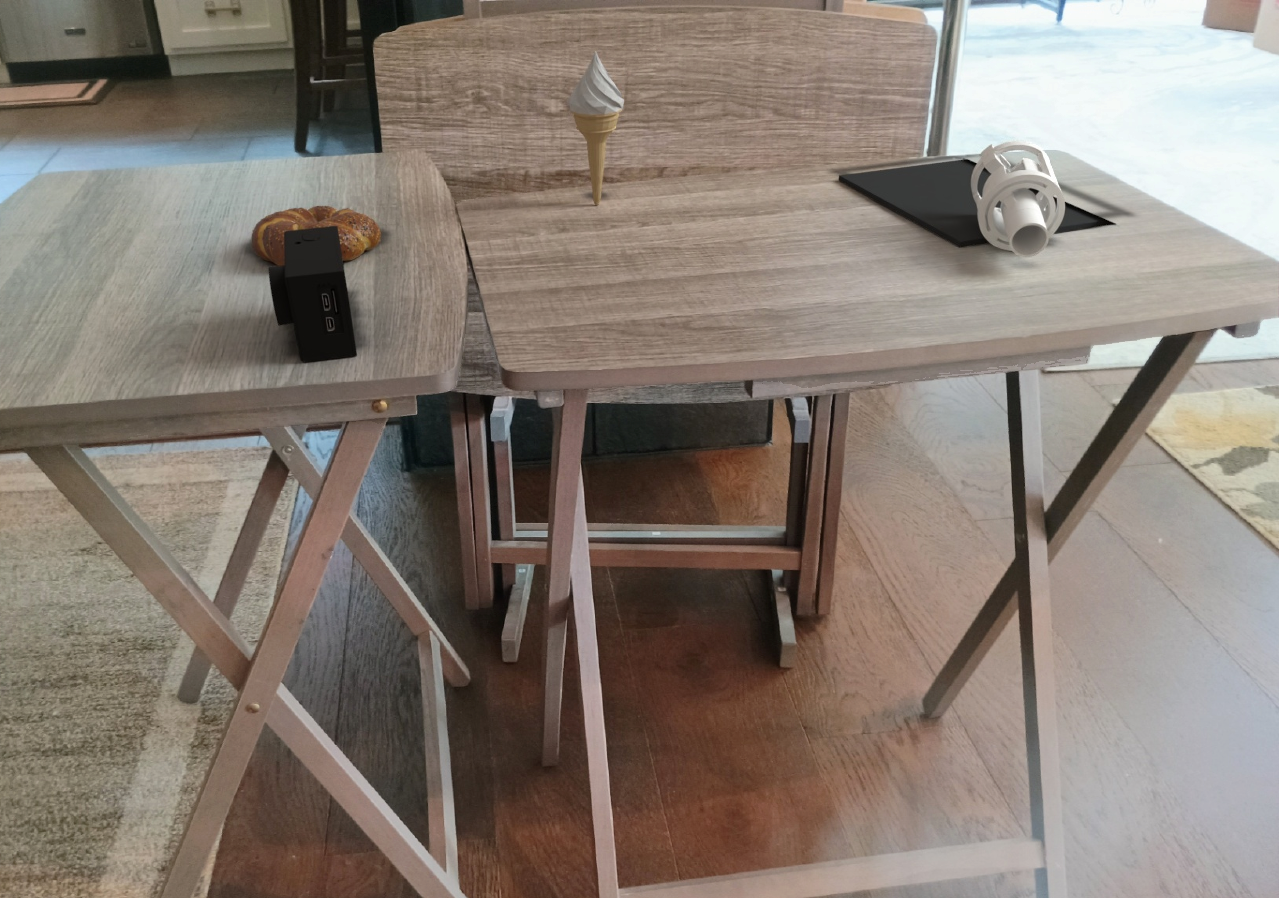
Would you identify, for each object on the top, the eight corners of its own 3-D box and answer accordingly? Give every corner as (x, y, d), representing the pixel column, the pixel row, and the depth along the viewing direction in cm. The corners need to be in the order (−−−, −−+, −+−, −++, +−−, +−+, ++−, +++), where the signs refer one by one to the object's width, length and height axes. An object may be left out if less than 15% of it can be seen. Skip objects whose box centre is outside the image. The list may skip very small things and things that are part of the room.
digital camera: (284, 312, 87) (268, 230, 83) (349, 304, 88) (337, 223, 84) (285, 365, 78) (267, 277, 74) (357, 356, 79) (343, 269, 75)
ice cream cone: (623, 195, 110) (624, 43, 101) (624, 213, 105) (625, 55, 97) (570, 196, 110) (567, 45, 101) (569, 214, 105) (565, 56, 97)
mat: (1122, 223, 99) (1123, 217, 98) (959, 247, 95) (960, 241, 94) (980, 162, 116) (981, 156, 116) (838, 180, 112) (838, 174, 112)
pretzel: (386, 228, 103) (381, 191, 101) (378, 268, 94) (372, 229, 92) (265, 234, 103) (258, 197, 101) (245, 275, 94) (236, 235, 92)
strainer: (966, 239, 88) (954, 173, 99) (1018, 293, 90) (1000, 222, 101) (1040, 182, 84) (1018, 120, 95) (1093, 240, 86) (1065, 172, 97)
